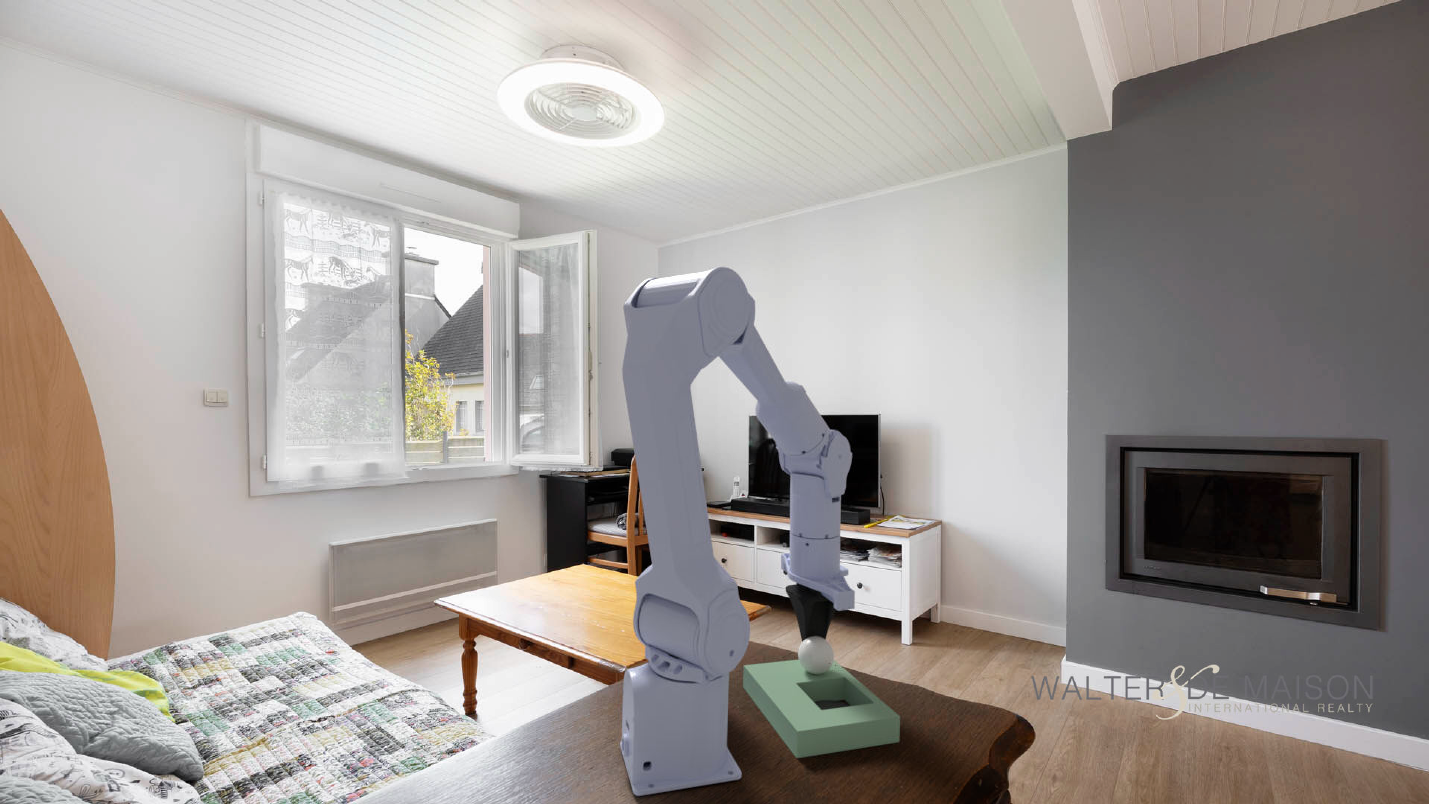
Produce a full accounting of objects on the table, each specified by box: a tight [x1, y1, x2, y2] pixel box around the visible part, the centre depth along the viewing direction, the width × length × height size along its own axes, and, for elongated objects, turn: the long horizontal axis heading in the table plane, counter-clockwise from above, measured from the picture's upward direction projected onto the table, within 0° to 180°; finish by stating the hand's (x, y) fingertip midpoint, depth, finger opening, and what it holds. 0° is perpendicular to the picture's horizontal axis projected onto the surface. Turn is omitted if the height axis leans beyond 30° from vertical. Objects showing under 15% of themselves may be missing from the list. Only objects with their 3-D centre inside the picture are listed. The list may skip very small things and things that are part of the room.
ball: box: [797, 636, 835, 674], centre depth 70 cm, size 4×4×4 cm
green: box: [742, 659, 901, 759], centre depth 66 cm, size 11×14×2 cm
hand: (813, 649), depth 72 cm, fingers closed, pressing on ball
